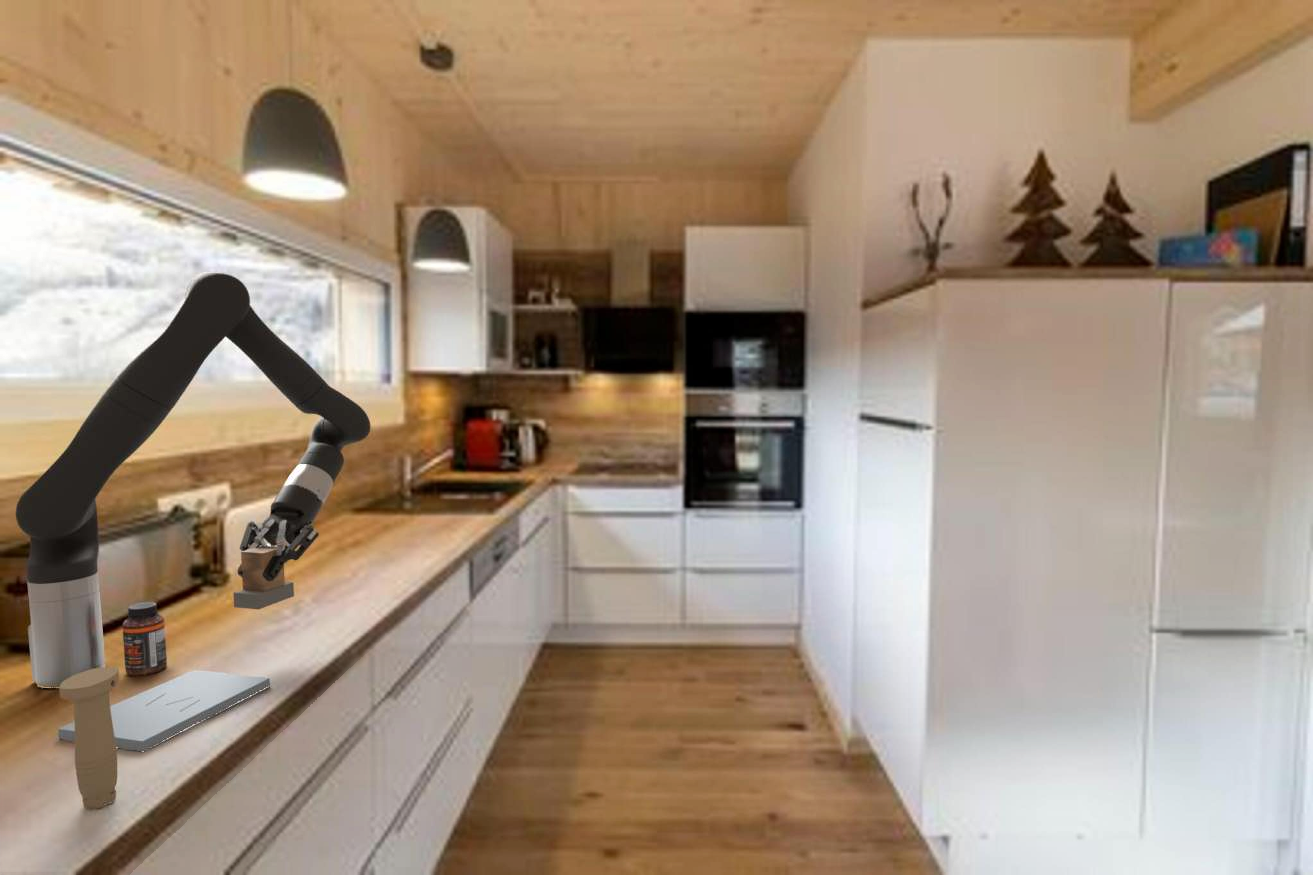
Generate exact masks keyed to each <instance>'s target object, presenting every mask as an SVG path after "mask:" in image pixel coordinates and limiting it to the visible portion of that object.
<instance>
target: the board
mask: <svg viewBox="0 0 1313 875" xmlns="http://www.w3.org/2000/svg"><path fill="white" fill-rule="evenodd" d="M270 679H271V678H270V677H264V676H263V677H262V676H254V675H246V674H237V673H228V672H219V671H210V670H209V671H208V670H199V669H193V670H191V671H189V672H186V673H184V674H182V675H180V676H177V677H175V678H172V679H169V680H168V681H166V682H163V683H161V684H159V685H156V686H154V687H151V688H149V689H148V690H145V691H142V692H140V693H137V694H136V695H133V696H131V697H129V698H126V699H124V700H122V701H119V702H116V703H114V704H112V705H110V709H111V716H112V723H113V730H114V736H115V742H116V747H118V748H117V749H119V748H122V749H121V750H125V749H129V750H128V751H132V750H137V751H136V752H138V751H145V750H147V749H149V750H151V749H150V747H153V746H154V745H156V744H158V743H160V742H162V741H163V740H166V739H167V738H169V737H171V736H173V735H175V734H177V733H179V732H180V731H183V730H184V729H186V728H188V727H190V726H192V725H193V724H196V723H197V722H201V721H202V720H204V719H207V718H208V717H211V716H213V715H215V714H216V713H219V712H220V711H222V710H224V709H226V708H228V707H229V706H231V705H233V704H235V703H237V702H238V701H241V700H242V699H245V698H247V697H249V696H250V695H253V694H255V693H256V692H259V691H260V690H263V689H264V688H266V687H268V686H270V687H271V682H270ZM219 714H220V713H219ZM215 716H216V715H215ZM213 717H214V716H213ZM211 718H212V717H211ZM207 720H208V719H207ZM201 723H202V722H201ZM57 730H58V739H59V740H60V739H63V740H62V741H66V740H68V741H69V742H74V743H75V721H73V722H71V723H69V724H66V725H64V726H62V727H59V728H58V729H57ZM68 741H67V742H68ZM166 741H167V740H166ZM162 743H163V742H162ZM153 748H154V747H153ZM147 751H148V750H147ZM145 752H146V751H145Z"/></svg>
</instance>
